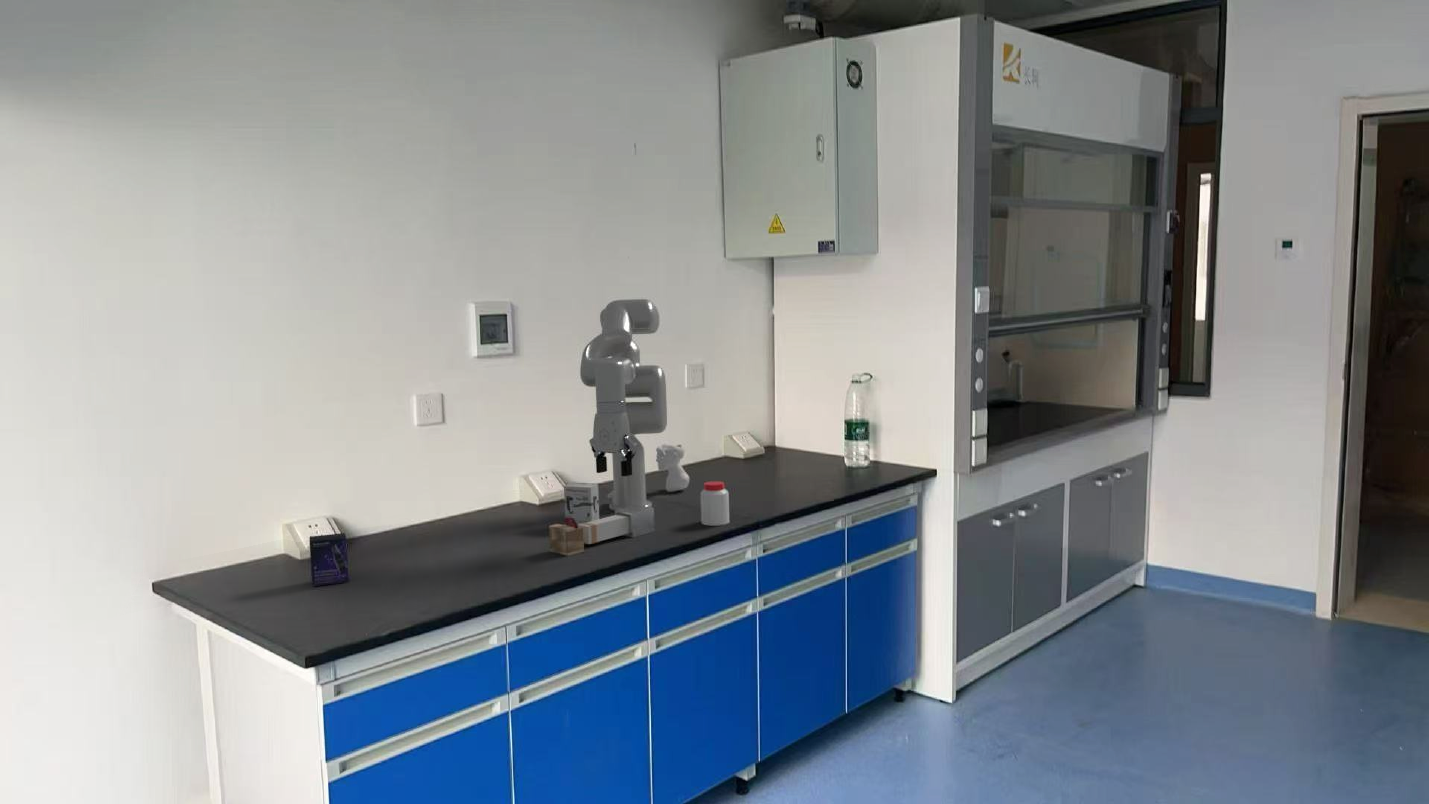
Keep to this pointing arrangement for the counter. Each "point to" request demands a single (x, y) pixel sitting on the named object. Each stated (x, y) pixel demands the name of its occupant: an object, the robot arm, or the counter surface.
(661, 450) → the white bust sculpture
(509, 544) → the counter surface
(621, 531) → the light grey bar
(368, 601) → the counter surface
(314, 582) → the box
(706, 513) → the pill bottle
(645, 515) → the sleeve
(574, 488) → the ink box
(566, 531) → the crate
